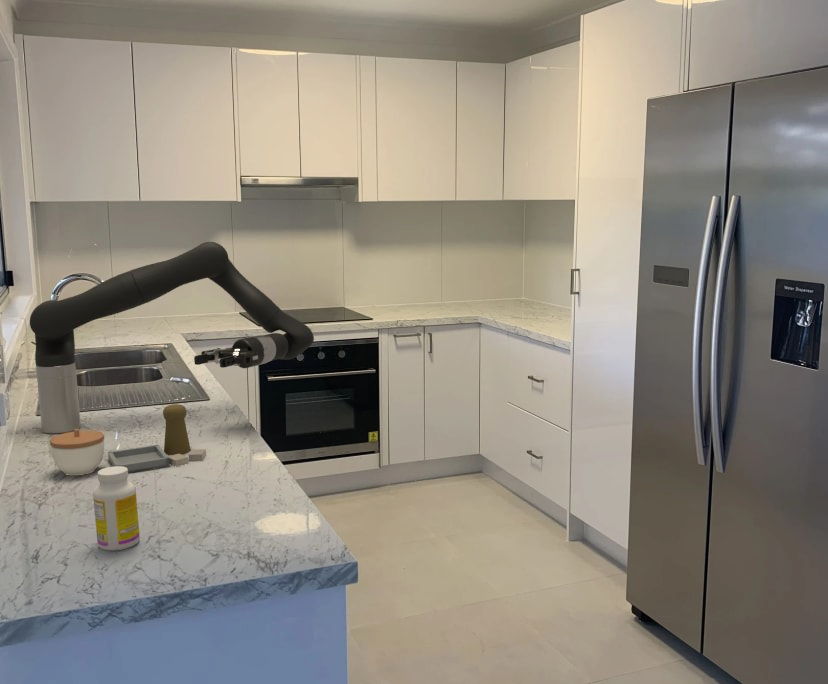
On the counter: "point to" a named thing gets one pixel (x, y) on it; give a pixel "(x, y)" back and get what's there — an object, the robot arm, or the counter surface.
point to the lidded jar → (78, 451)
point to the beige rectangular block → (197, 455)
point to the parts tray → (140, 458)
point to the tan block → (178, 460)
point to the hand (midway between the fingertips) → (208, 362)
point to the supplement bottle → (115, 510)
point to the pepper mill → (175, 430)
